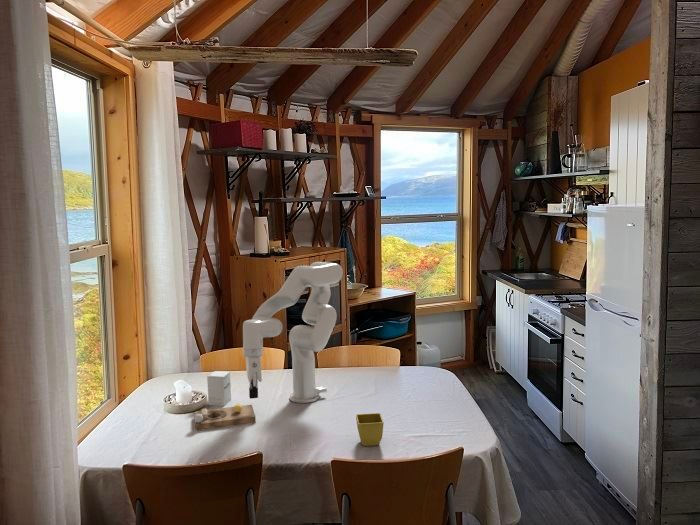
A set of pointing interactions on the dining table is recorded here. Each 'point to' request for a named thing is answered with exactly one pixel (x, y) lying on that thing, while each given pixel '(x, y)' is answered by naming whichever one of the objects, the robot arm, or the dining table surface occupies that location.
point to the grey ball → (198, 418)
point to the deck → (225, 417)
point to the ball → (237, 408)
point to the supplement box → (219, 388)
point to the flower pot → (370, 428)
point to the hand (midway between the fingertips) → (253, 397)
